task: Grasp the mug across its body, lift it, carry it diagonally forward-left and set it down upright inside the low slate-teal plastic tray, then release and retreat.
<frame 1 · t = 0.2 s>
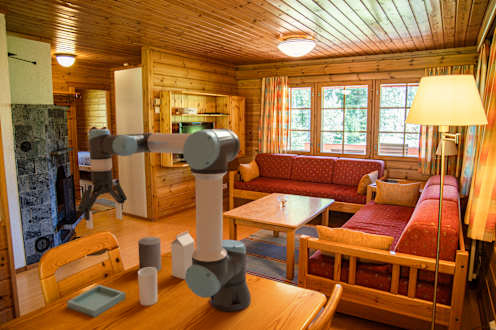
hand: (105, 223, 136), 27 cm above the table, fingers open, 13 cm apart
milk carton: (183, 275, 152), on the table
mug: (150, 299, 132), on the table
dark gray cylinder: (150, 269, 158), on the table
tray: (97, 302, 129), on the table
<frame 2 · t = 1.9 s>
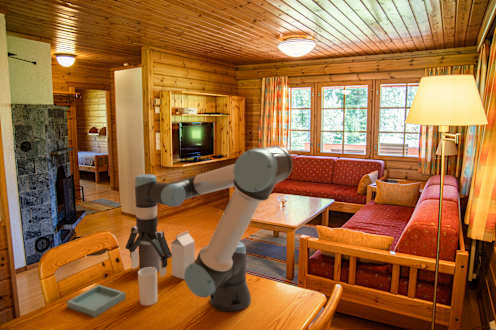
hand: (148, 271, 131), 11 cm above the table, fingers open, 13 cm apart
nothing on the table moved.
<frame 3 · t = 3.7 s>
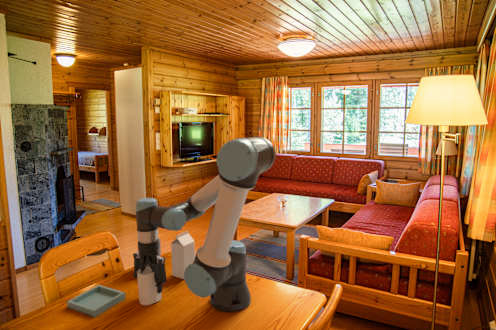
hand: (150, 298, 132), 0 cm above the table, fingers closed on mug, 6 cm apart
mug: (150, 299, 132), on the table, touching gripper
everything else where it was.
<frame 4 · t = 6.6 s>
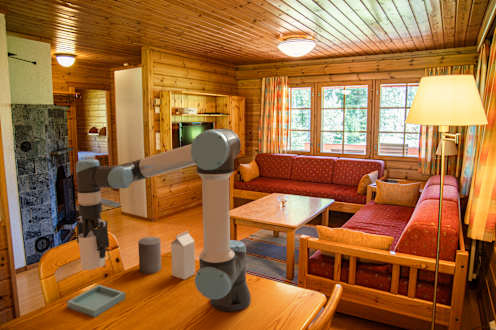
hand: (94, 263, 127), 15 cm above the table, fingers closed on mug, 6 cm apart
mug: (93, 265, 128), point 15 cm above the table, touching gripper
everything else where it was.
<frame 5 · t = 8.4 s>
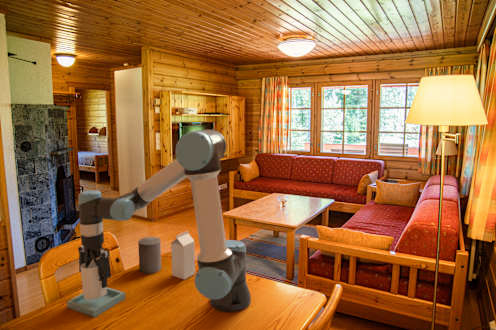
hand: (96, 292, 129), 4 cm above the table, fingers closed on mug, 6 cm apart
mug: (95, 293, 129), point 3 cm above the table, touching gripper
everything else where it was.
when the fingers open (2 cm above the table, at t = 9.6 s): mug drops 1 cm, resting on tray.
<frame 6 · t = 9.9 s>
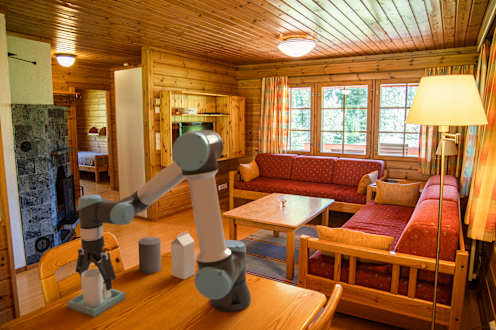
hand: (96, 294, 129), 3 cm above the table, fingers open, 11 cm apart
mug: (96, 301, 130), resting on tray
everything else where it was.
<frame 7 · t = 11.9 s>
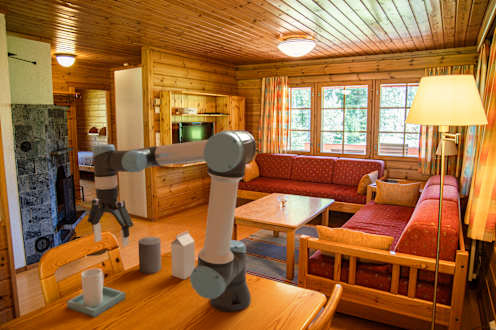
hand: (111, 243, 129), 22 cm above the table, fingers open, 13 cm apart
nothing on the table moved.
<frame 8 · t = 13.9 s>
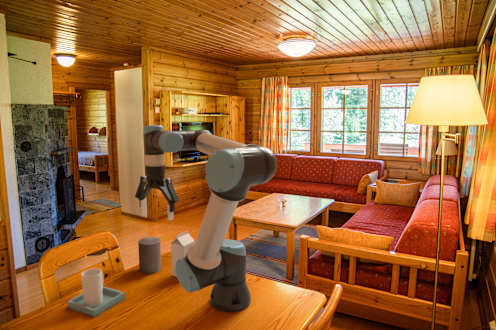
hand: (157, 217, 139), 29 cm above the table, fingers open, 13 cm apart
nothing on the table moved.
at the end: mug inside the target area on the tray (0.4 cm from its centre), point 0.4 cm above the tray's base; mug tilted 0°; the gripper is holding nothing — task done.
